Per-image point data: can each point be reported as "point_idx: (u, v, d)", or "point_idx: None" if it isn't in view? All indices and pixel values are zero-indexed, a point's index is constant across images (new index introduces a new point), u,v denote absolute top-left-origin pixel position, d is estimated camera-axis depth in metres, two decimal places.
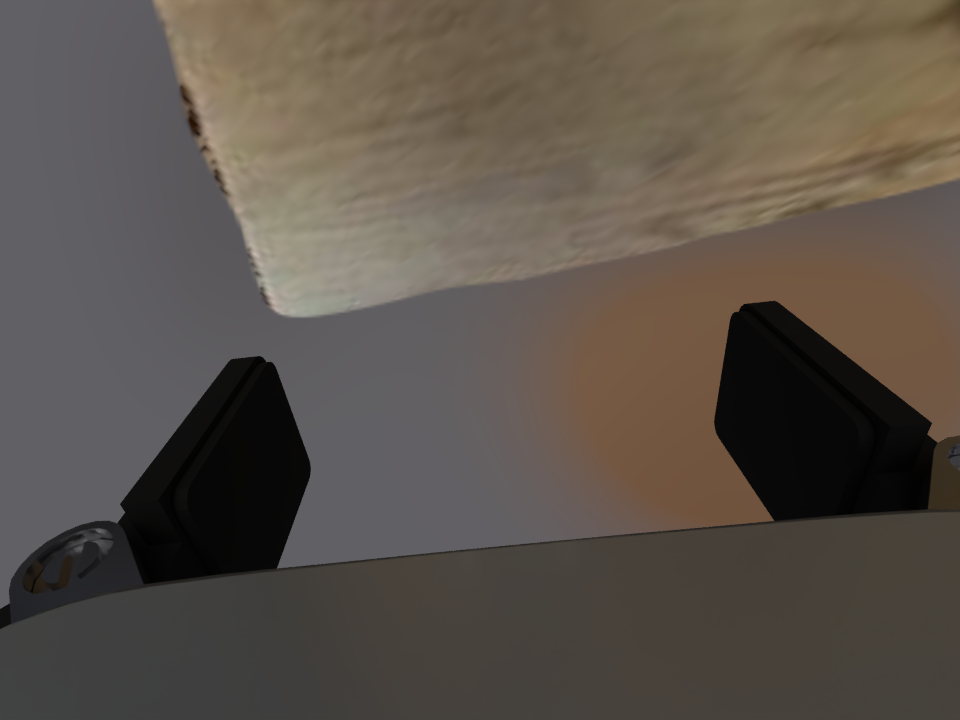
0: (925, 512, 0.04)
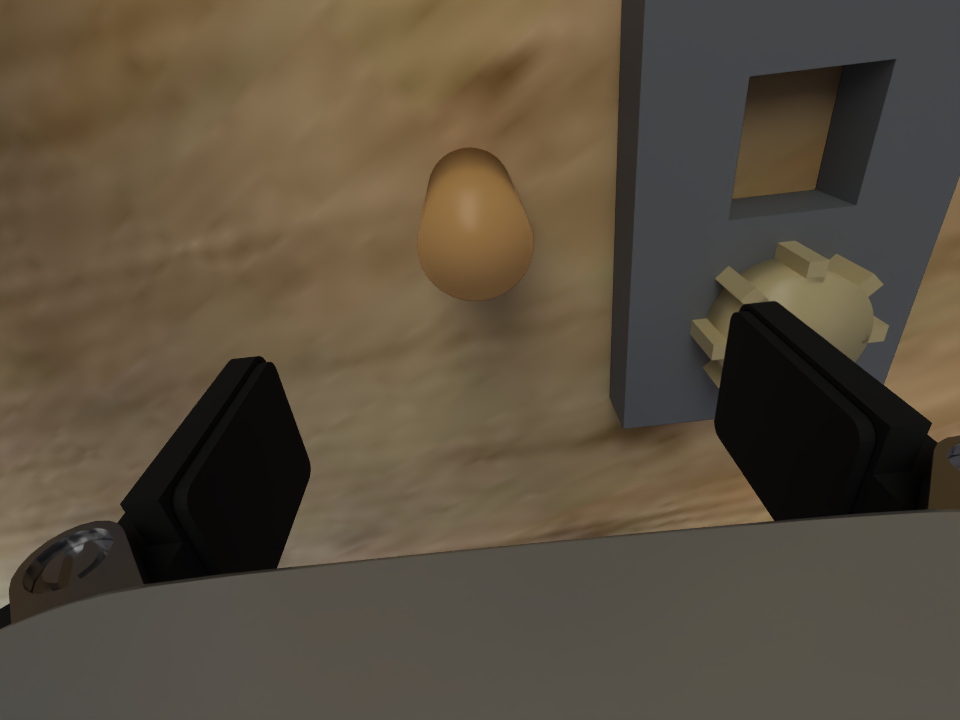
0: (925, 512, 0.04)
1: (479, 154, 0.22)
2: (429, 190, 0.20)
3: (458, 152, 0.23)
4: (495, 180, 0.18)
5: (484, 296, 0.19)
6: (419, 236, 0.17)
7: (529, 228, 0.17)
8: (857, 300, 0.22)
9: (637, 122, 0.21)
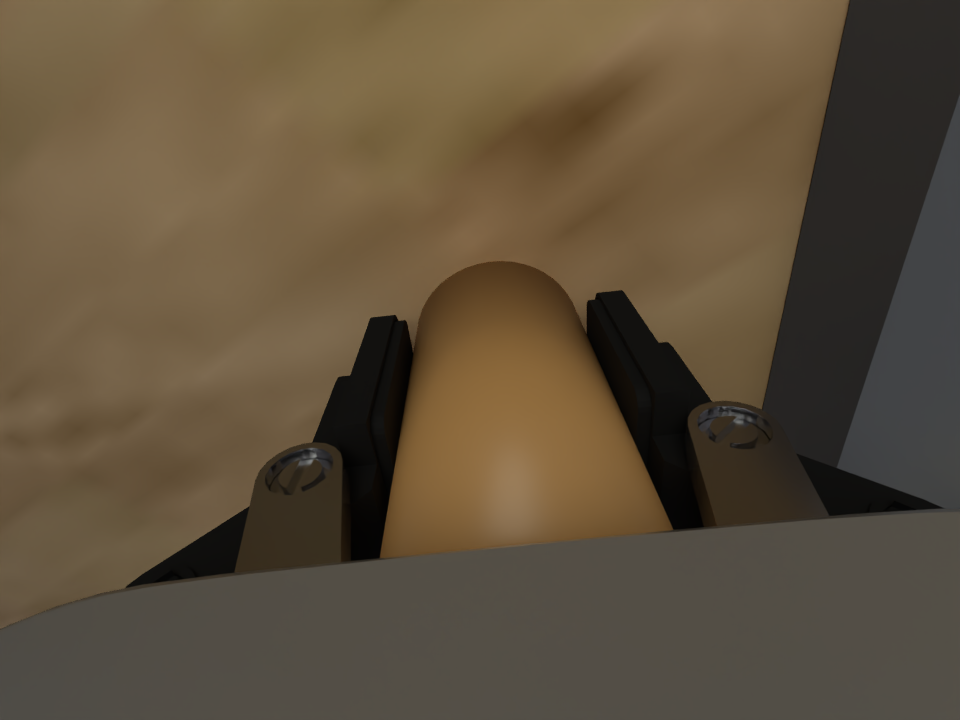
0: (925, 512, 0.04)
1: (523, 289, 0.10)
2: (412, 400, 0.09)
3: (478, 277, 0.11)
4: (591, 439, 0.07)
5: None
6: None
7: None
8: None
9: (904, 240, 0.09)
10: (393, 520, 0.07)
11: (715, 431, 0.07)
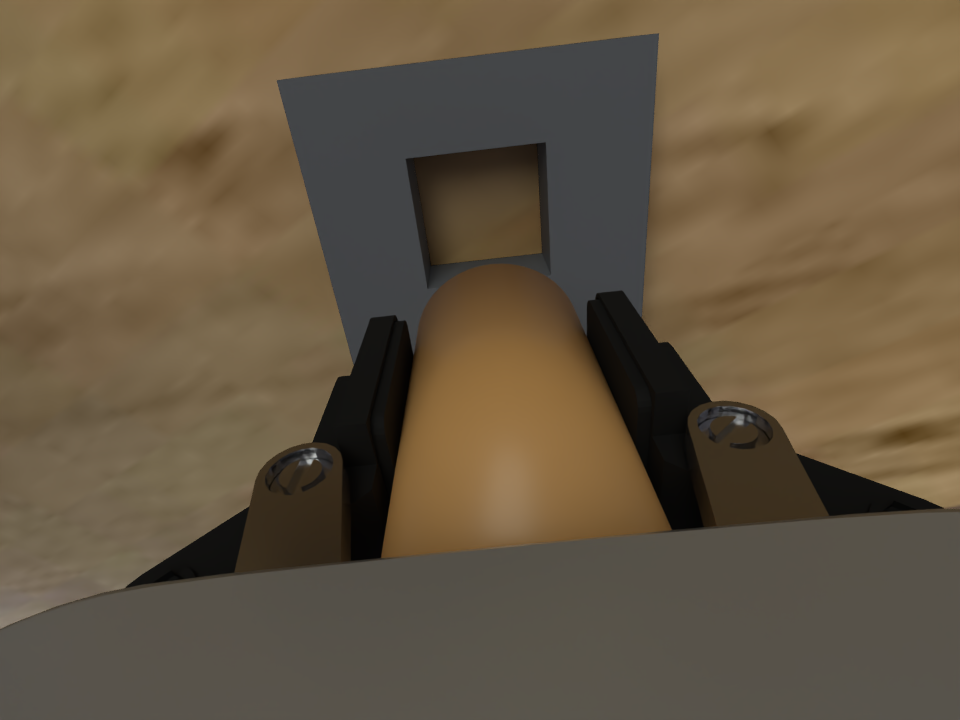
0: (925, 512, 0.04)
1: (524, 291, 0.10)
2: (413, 403, 0.09)
3: (478, 280, 0.11)
4: (591, 443, 0.07)
5: None
6: None
7: None
8: None
9: (310, 200, 0.21)
10: (393, 524, 0.07)
11: (715, 431, 0.07)
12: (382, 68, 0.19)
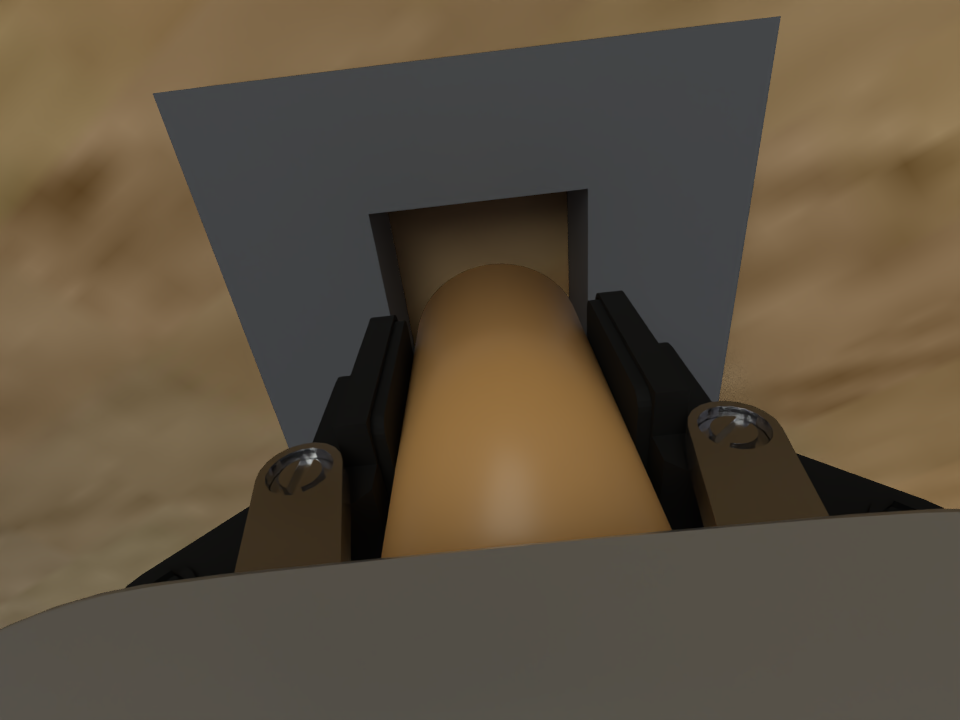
0: (925, 512, 0.04)
1: (524, 292, 0.10)
2: (413, 403, 0.09)
3: (478, 280, 0.11)
4: (591, 444, 0.07)
5: None
6: None
7: None
8: None
9: (224, 274, 0.14)
10: (393, 524, 0.07)
11: (715, 431, 0.07)
12: (325, 74, 0.12)
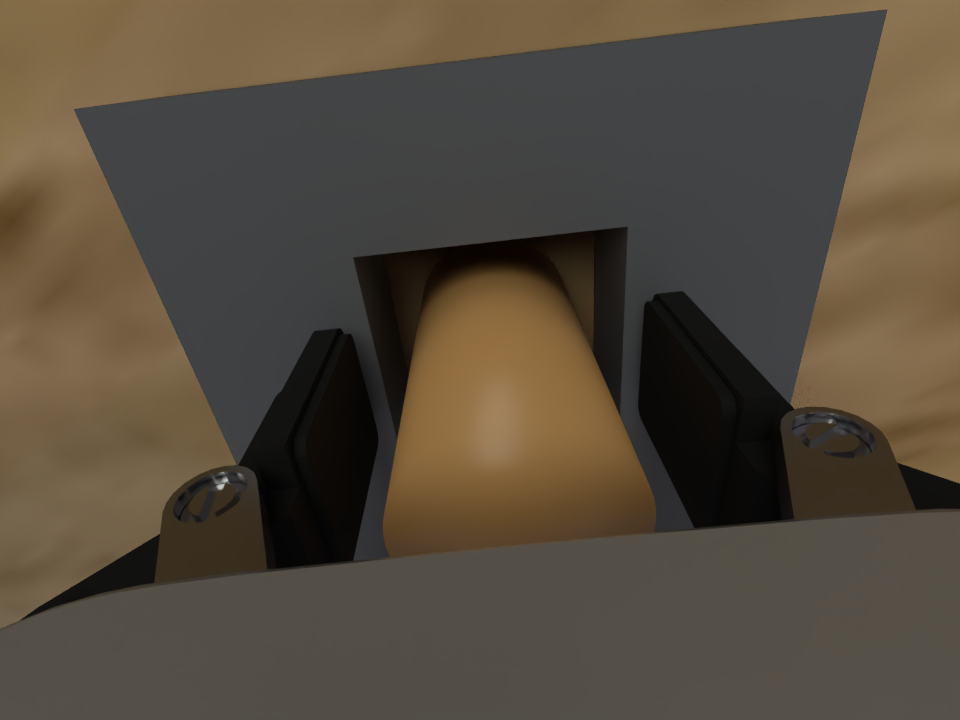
0: (925, 512, 0.04)
1: (514, 257, 0.12)
2: (419, 344, 0.10)
3: (476, 248, 0.13)
4: (562, 361, 0.08)
5: None
6: (387, 514, 0.07)
7: (650, 499, 0.07)
8: None
9: (178, 328, 0.11)
10: (405, 425, 0.08)
11: (810, 436, 0.07)
12: (295, 84, 0.09)
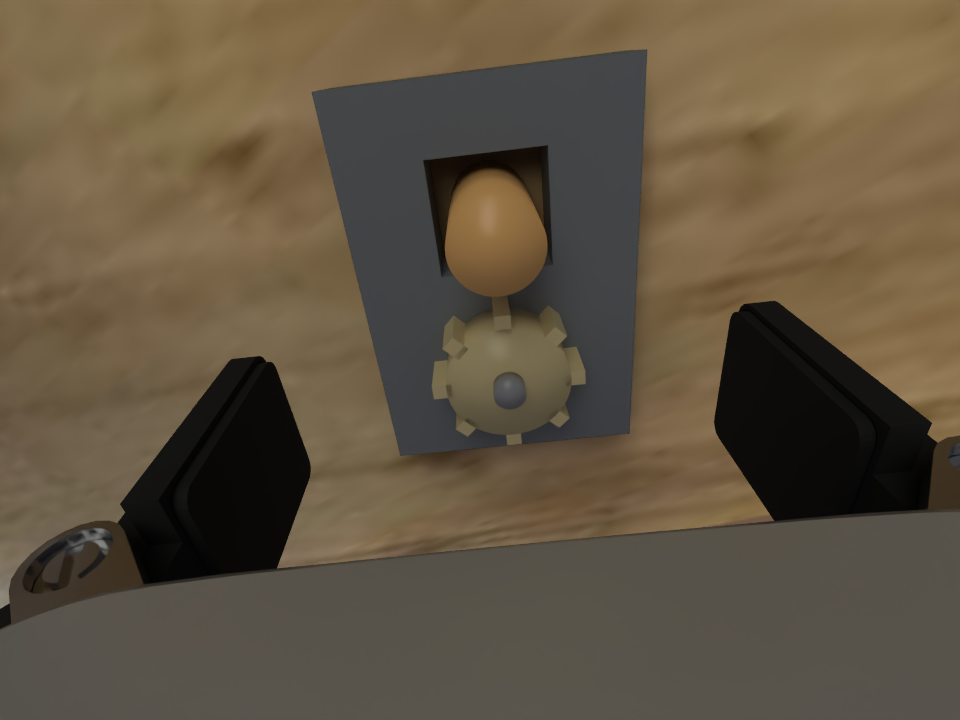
0: (925, 512, 0.04)
1: (498, 166, 0.25)
2: (454, 198, 0.23)
3: (479, 164, 0.25)
4: (513, 190, 0.21)
5: (503, 293, 0.21)
6: (446, 239, 0.20)
7: (543, 232, 0.20)
8: (548, 349, 0.25)
9: (338, 197, 0.24)
10: (451, 215, 0.21)
11: None
12: (404, 81, 0.22)
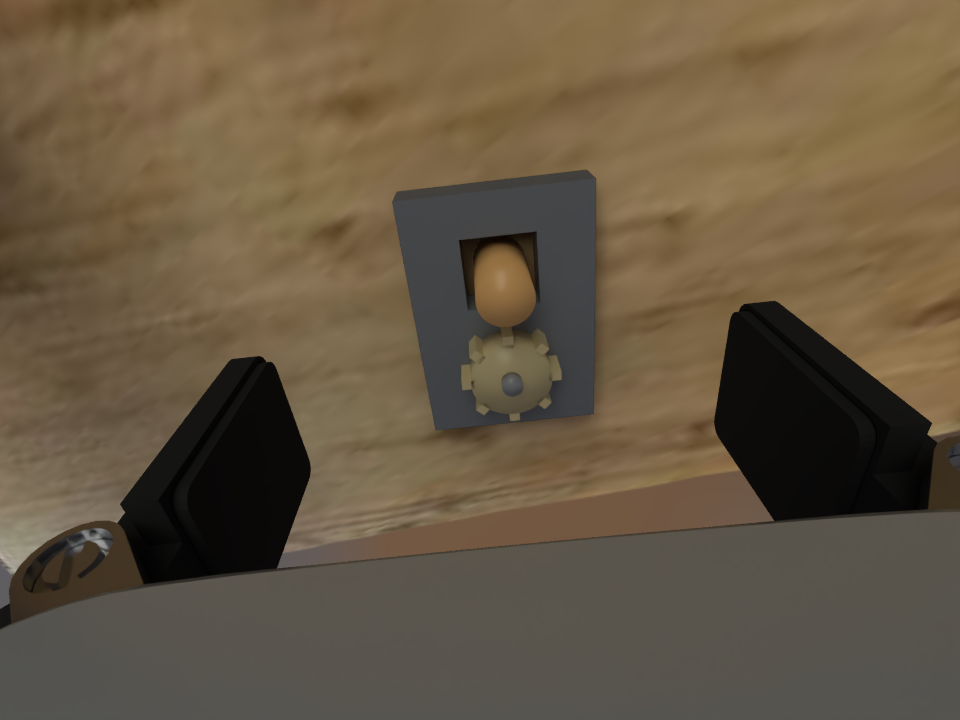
0: (925, 512, 0.04)
1: (505, 240, 0.39)
2: (478, 264, 0.37)
3: (492, 238, 0.39)
4: (516, 263, 0.35)
5: (509, 325, 0.35)
6: (476, 294, 0.34)
7: (533, 290, 0.34)
8: (537, 357, 0.39)
9: (403, 261, 0.38)
10: (478, 278, 0.35)
11: None
12: (448, 195, 0.35)
